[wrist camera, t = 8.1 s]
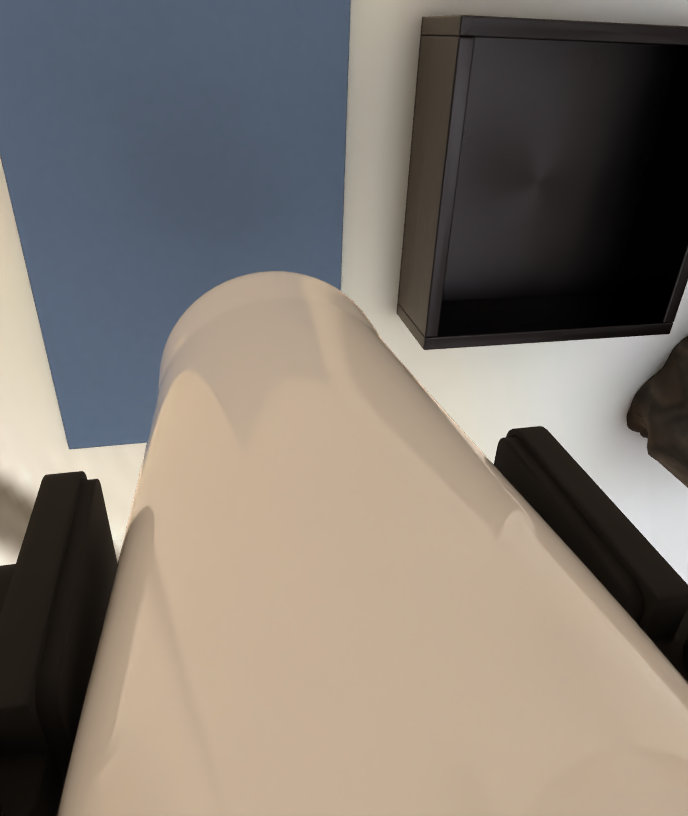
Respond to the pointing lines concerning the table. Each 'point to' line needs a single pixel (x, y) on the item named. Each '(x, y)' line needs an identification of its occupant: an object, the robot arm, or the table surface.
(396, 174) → the table surface
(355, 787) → the drinking glass
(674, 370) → the brown craggy rock
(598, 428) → the table surface
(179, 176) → the cloth
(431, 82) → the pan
